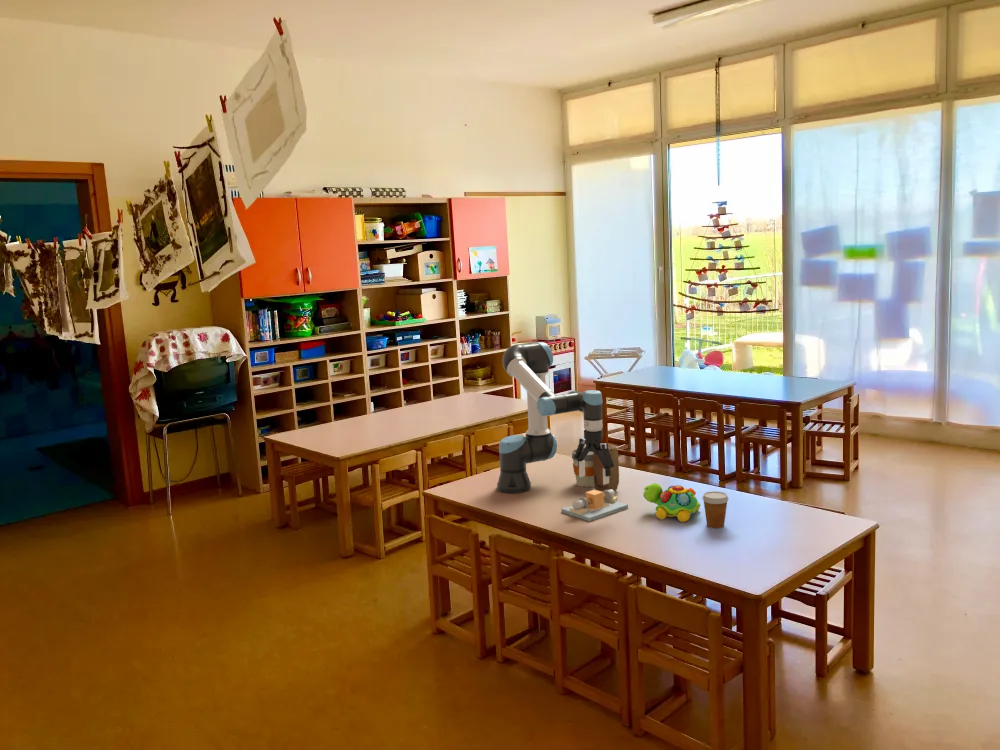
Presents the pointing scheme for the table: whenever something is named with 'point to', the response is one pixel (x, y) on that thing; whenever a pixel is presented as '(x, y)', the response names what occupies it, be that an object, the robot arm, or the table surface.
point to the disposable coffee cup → (715, 508)
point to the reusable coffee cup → (589, 471)
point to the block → (613, 471)
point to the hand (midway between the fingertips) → (594, 480)
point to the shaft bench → (589, 514)
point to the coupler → (595, 499)
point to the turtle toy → (672, 501)
